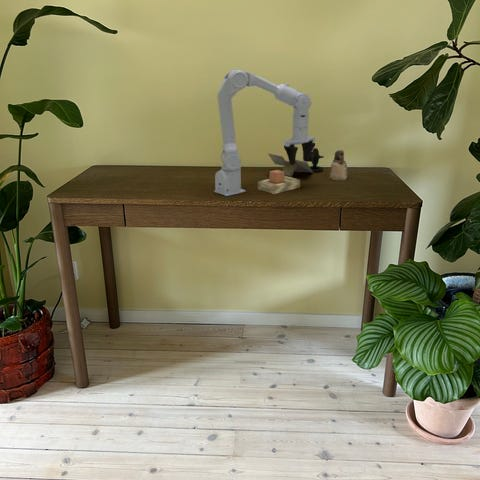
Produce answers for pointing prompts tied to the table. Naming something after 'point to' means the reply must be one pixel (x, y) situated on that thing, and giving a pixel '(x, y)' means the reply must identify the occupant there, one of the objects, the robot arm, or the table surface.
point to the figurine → (338, 167)
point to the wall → (288, 167)
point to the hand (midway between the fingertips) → (299, 162)
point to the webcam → (315, 160)
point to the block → (276, 177)
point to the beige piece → (279, 185)
